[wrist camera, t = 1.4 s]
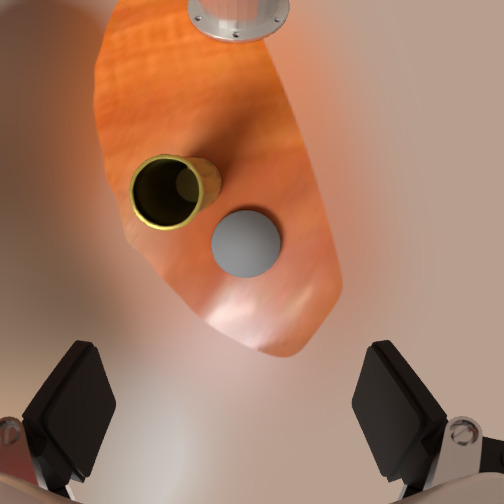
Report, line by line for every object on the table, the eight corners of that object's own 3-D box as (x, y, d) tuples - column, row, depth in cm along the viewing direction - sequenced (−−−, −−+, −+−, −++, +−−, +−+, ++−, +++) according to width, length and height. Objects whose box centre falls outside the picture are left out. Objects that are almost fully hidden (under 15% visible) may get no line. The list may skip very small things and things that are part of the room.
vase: (165, 163, 31) (116, 159, 17) (217, 152, 31) (202, 138, 17) (174, 213, 32) (132, 244, 19) (225, 204, 32) (217, 229, 19)
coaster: (212, 209, 32) (211, 210, 32) (281, 210, 33) (282, 212, 32) (212, 274, 35) (211, 277, 34) (277, 275, 35) (278, 278, 34)
